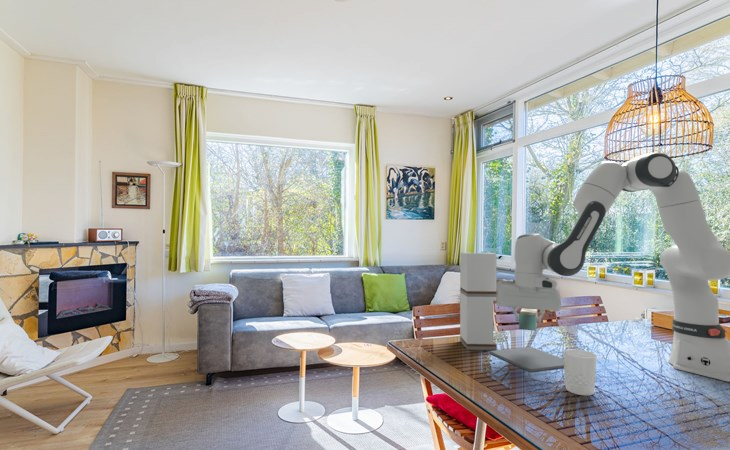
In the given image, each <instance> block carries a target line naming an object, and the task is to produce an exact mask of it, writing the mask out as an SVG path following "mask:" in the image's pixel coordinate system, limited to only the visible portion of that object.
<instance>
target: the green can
mask: <svg viewBox="0 0 730 450" xmlns="http://www.w3.org/2000/svg"><path fill="white" fill-rule="evenodd" d="M520 309H521V310H520V312H519V313H518V315H519V321H518V329H519V330H522V331H532V332H534V331H537V327H538V323H536V317H538V310H537V309H526V308H520Z"/></svg>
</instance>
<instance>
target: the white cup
mask: <svg viewBox="0 0 730 450" xmlns="http://www.w3.org/2000/svg"><path fill="white" fill-rule="evenodd" d="M562 353H563V359H564V368H563V372H564V381H565V384H564V385H565V390H566V391H568V393H569V392H570V393H572V394H575V395H580V396H592V395H594V394H595V384H596V378H597V377H596V376H597V354H596V353H594V352H591V351H589V350H583V349H577V348H575V349H574V348H573V349H572V348H568V349H564V350H563V351H562Z"/></svg>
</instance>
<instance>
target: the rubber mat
mask: <svg viewBox="0 0 730 450" xmlns="http://www.w3.org/2000/svg"><path fill="white" fill-rule="evenodd" d="M489 354H491V355H493V356H495V357H497V358H499V359H501V360H504V361H506V362H508V363H510V364H512V365H515V366H517V367H519V368H521V369H523V370H525V371H527V372H529V373H533V372H541V371H549V370H557V369H564V358H562V357H559V356H557V355H554V354H552V353H548V352H546V351H544V350H541V349H538V348H535V347H532V346H527V347H526V346H525V347H517V348H516V347H515V348H507V349H497V350H489Z"/></svg>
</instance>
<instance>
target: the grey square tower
mask: <svg viewBox="0 0 730 450" xmlns="http://www.w3.org/2000/svg"><path fill="white" fill-rule="evenodd" d="M459 254H460V256H459V257H460V260H459V261H460V265H459V267H460V269H459V277H460V278H459V280H460V284H459V288H460V289H459V291H460V292H459V293H460V294H459V295H460V296H459V301H460V302H459V304H460V305H459V313H460V314H459V321H460V322H459V329H460V330H459V333H460V334H459V336H460V337H459V340H460V341H461V342H462V343H461V342H460V343H461V344H462V345H463V346H464V347H466V348H465V349H466V350H471V351H477V350H478V351H479V350H481V351H482V350H483V351H496V350H498V349H497V348H498V347H497V345H498V344H497V343H496V342H495V341H494V302H497V295H498V291H497V289H496V284H497V253H494V252H489V251H488V252H487V251H485V253H484V252H479V253H474V252H466V251H465V252H464V251H460V252H459Z"/></svg>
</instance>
